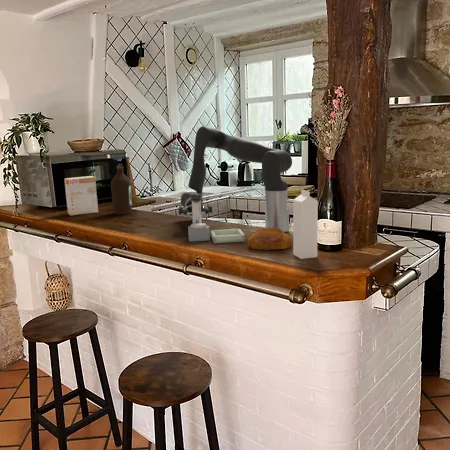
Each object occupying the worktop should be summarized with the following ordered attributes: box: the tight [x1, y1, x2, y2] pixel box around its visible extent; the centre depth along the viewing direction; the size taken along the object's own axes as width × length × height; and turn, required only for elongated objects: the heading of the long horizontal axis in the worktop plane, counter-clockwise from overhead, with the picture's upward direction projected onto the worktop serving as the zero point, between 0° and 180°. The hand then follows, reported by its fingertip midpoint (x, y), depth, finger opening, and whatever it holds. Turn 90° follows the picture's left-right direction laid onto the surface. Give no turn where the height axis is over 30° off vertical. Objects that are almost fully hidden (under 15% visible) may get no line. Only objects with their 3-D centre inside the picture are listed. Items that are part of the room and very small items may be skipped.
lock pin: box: [190, 192, 203, 224], centre depth 189 cm, size 5×5×17 cm
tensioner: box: [187, 222, 211, 242], centre depth 187 cm, size 8×14×6 cm, turn 8°
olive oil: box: [110, 165, 133, 216], centre depth 246 cm, size 11×11×25 cm
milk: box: [292, 189, 319, 260], centre depth 154 cm, size 6×6×22 cm
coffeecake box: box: [64, 175, 99, 216], centre depth 251 cm, size 15×7×20 cm, turn 121°
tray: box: [209, 228, 246, 244], centre depth 183 cm, size 12×12×2 cm
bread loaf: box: [247, 227, 293, 251], centre depth 170 cm, size 15×16×8 cm
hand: (196, 212), depth 192 cm, fingers open, 8 cm apart
